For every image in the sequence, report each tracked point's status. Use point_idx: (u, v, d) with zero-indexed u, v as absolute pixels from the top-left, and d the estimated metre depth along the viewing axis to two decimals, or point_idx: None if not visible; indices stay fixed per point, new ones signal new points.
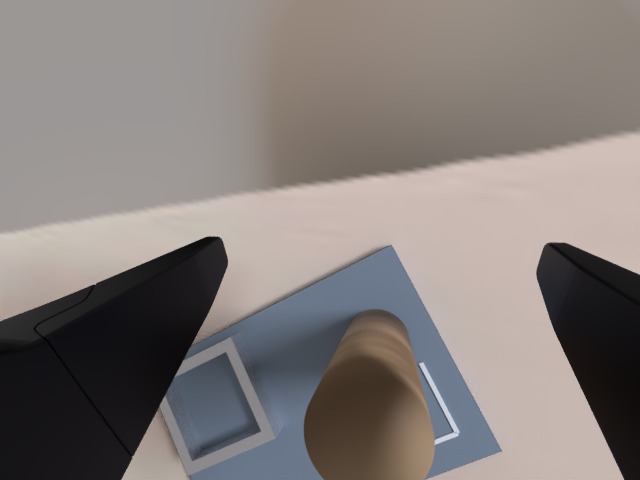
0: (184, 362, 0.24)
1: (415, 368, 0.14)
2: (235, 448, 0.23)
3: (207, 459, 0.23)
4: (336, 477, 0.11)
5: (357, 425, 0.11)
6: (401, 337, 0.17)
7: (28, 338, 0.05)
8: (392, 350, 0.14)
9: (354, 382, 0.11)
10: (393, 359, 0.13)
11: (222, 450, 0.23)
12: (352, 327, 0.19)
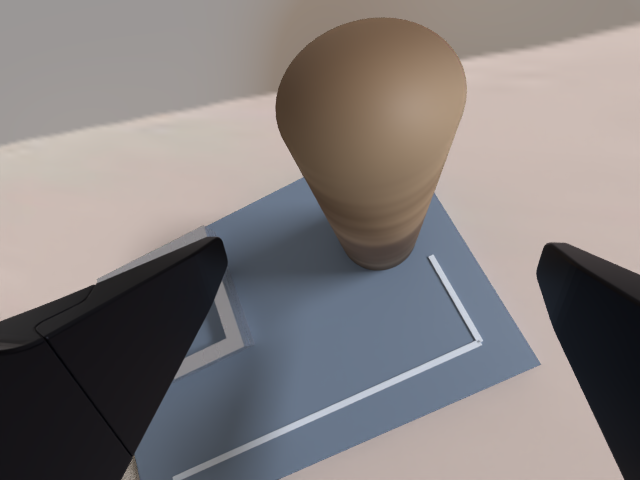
0: (144, 258, 0.20)
1: None
2: (190, 362, 0.18)
3: None
4: (318, 155, 0.07)
5: (353, 82, 0.08)
6: None
7: (27, 338, 0.05)
8: None
9: (351, 35, 0.08)
10: None
11: None
12: None
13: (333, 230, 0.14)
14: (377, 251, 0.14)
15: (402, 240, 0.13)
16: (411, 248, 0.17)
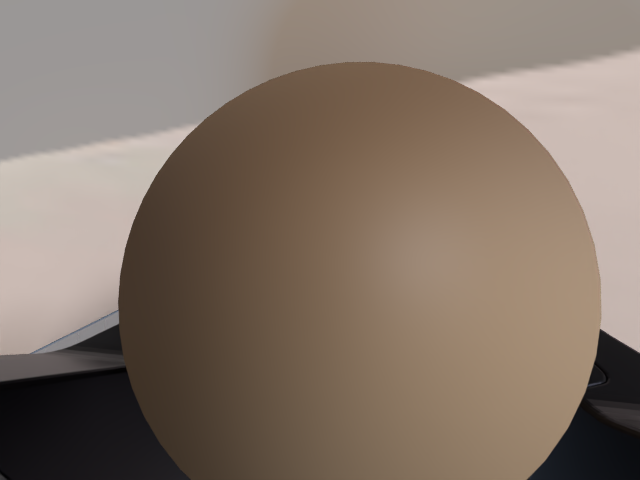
0: (71, 338, 0.15)
1: None
2: None
3: None
4: (203, 428, 0.03)
5: (298, 226, 0.03)
6: None
7: None
8: None
9: (297, 101, 0.04)
10: None
11: None
12: None
13: None
14: None
15: None
16: None
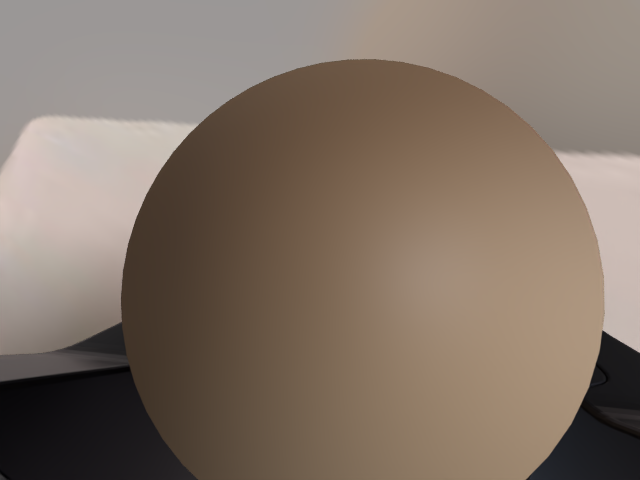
0: None
1: None
2: None
3: None
4: (206, 425, 0.03)
5: (301, 222, 0.03)
6: None
7: None
8: None
9: (300, 98, 0.04)
10: None
11: None
12: None
13: None
14: None
15: None
16: None
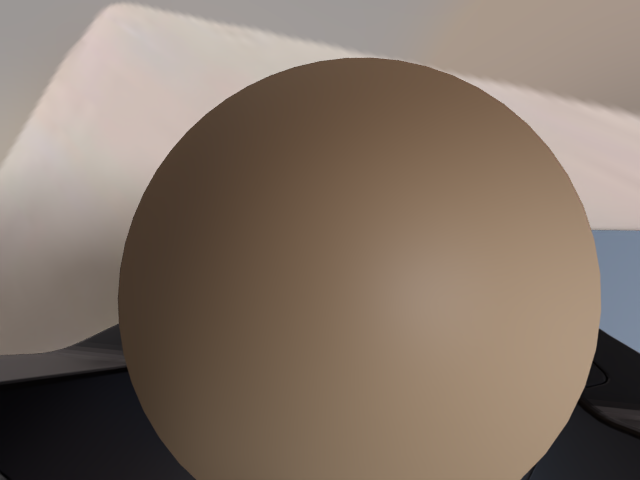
0: None
1: None
2: None
3: None
4: (203, 423, 0.03)
5: (298, 221, 0.03)
6: None
7: None
8: None
9: (297, 97, 0.04)
10: None
11: None
12: None
13: None
14: None
15: None
16: None
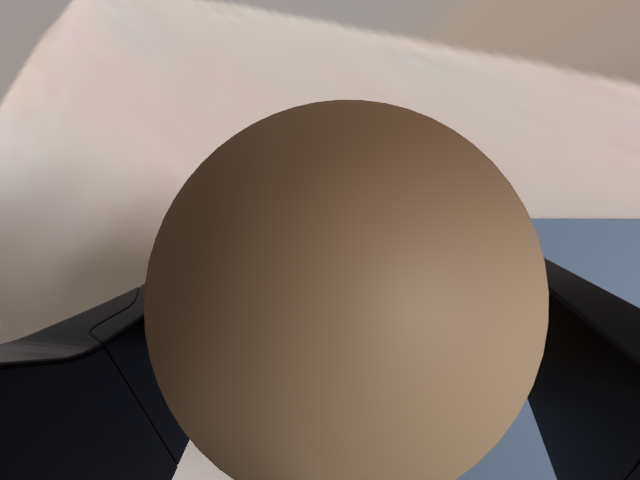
0: None
1: None
2: None
3: None
4: (218, 416, 0.03)
5: (298, 244, 0.04)
6: None
7: (84, 344, 0.05)
8: None
9: (297, 134, 0.04)
10: None
11: None
12: None
13: None
14: None
15: None
16: None
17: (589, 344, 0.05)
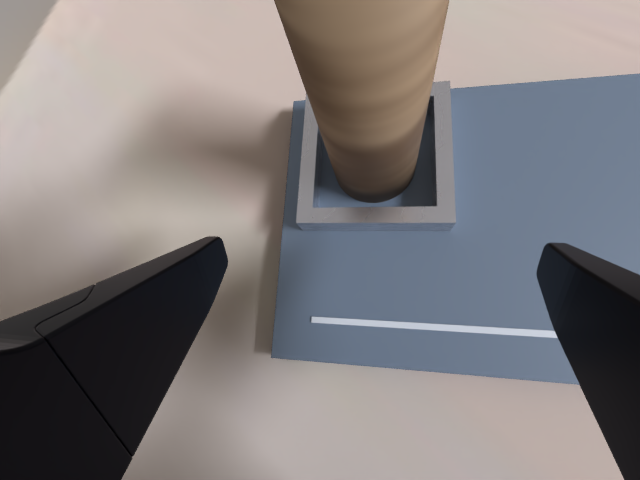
0: None
1: None
2: (385, 214, 0.16)
3: (336, 213, 0.16)
4: None
5: None
6: None
7: (27, 338, 0.05)
8: None
9: None
10: None
11: (365, 209, 0.16)
12: None
13: (325, 141, 0.13)
14: (373, 159, 0.13)
15: (400, 141, 0.12)
16: (410, 172, 0.16)
17: None
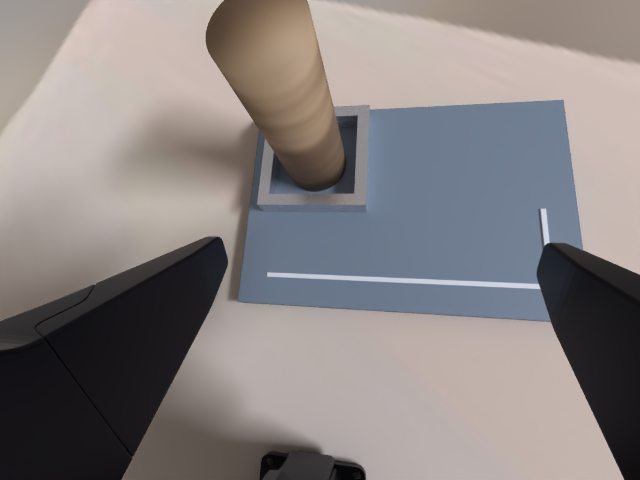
0: None
1: None
2: (319, 198, 0.22)
3: (285, 197, 0.22)
4: (228, 60, 0.13)
5: (250, 19, 0.13)
6: None
7: (27, 338, 0.05)
8: None
9: None
10: None
11: (305, 195, 0.22)
12: None
13: None
14: (300, 159, 0.19)
15: (315, 147, 0.18)
16: (336, 168, 0.22)
17: None
